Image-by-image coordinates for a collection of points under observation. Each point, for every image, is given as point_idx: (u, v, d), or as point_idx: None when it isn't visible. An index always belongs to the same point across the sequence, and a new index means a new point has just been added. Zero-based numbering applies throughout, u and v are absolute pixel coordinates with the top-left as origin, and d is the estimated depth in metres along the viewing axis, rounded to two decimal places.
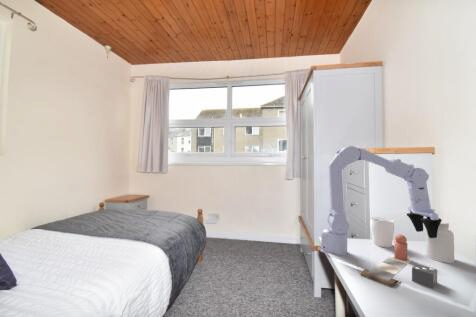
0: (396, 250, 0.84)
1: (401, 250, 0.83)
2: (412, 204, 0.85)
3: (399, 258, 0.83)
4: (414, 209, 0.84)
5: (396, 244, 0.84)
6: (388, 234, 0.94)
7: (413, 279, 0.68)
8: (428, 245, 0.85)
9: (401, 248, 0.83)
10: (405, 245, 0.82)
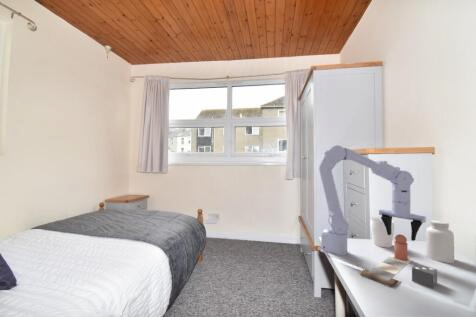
0: (396, 250, 0.84)
1: (401, 250, 0.83)
2: (398, 207, 0.83)
3: (399, 258, 0.83)
4: (400, 212, 0.82)
5: (396, 244, 0.84)
6: None
7: (413, 279, 0.68)
8: (428, 245, 0.85)
9: (401, 248, 0.83)
10: (405, 245, 0.82)
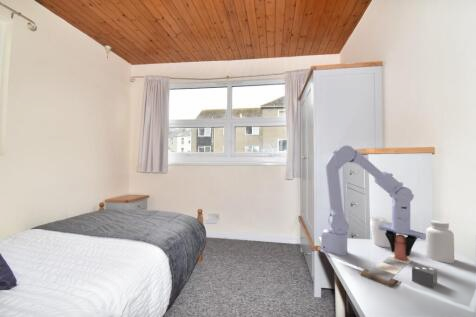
0: (396, 250, 0.84)
1: (401, 250, 0.83)
2: (398, 223, 0.83)
3: (399, 258, 0.83)
4: (400, 228, 0.82)
5: (396, 244, 0.84)
6: None
7: (413, 279, 0.68)
8: (428, 245, 0.85)
9: (401, 248, 0.83)
10: (405, 245, 0.82)
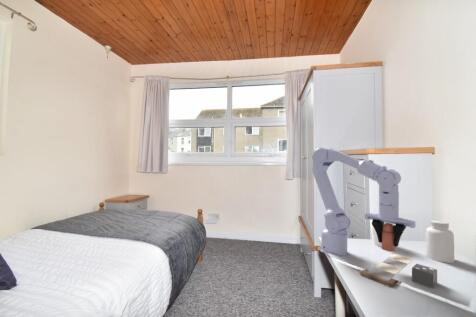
0: (383, 240, 0.76)
1: (388, 239, 0.75)
2: (386, 210, 0.75)
3: (386, 249, 0.75)
4: (388, 216, 0.74)
5: (383, 233, 0.76)
6: None
7: (413, 279, 0.68)
8: (428, 245, 0.85)
9: (389, 237, 0.75)
10: (393, 234, 0.75)
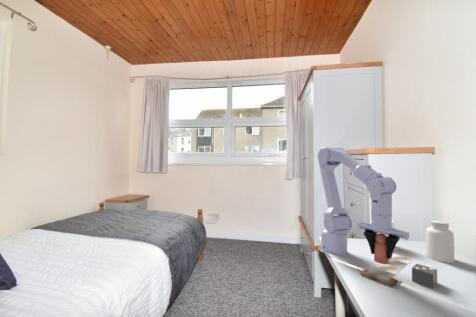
0: (376, 252, 0.72)
1: (381, 251, 0.71)
2: (378, 221, 0.71)
3: (379, 261, 0.71)
4: (380, 227, 0.70)
5: (376, 245, 0.72)
6: None
7: (413, 279, 0.68)
8: (428, 245, 0.85)
9: (381, 249, 0.71)
10: (386, 246, 0.71)
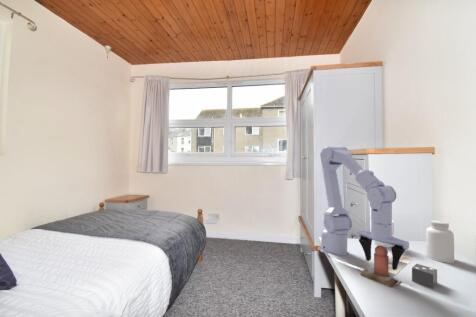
0: (376, 264, 0.72)
1: (381, 264, 0.71)
2: (378, 229, 0.71)
3: (379, 273, 0.71)
4: (380, 236, 0.70)
5: (376, 257, 0.72)
6: None
7: (413, 279, 0.68)
8: (428, 245, 0.85)
9: (381, 262, 0.71)
10: (386, 258, 0.70)
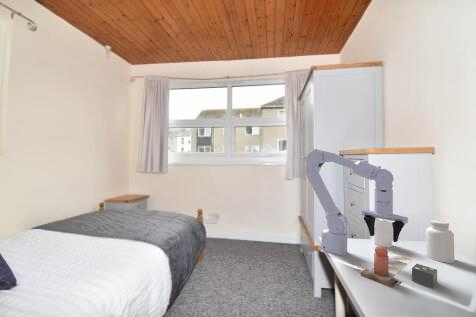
0: (376, 264, 0.72)
1: (381, 264, 0.71)
2: (380, 207, 0.80)
3: (379, 274, 0.71)
4: (382, 212, 0.80)
5: (376, 257, 0.72)
6: (388, 234, 0.94)
7: (413, 279, 0.68)
8: (428, 245, 0.85)
9: (381, 262, 0.71)
10: (386, 258, 0.70)
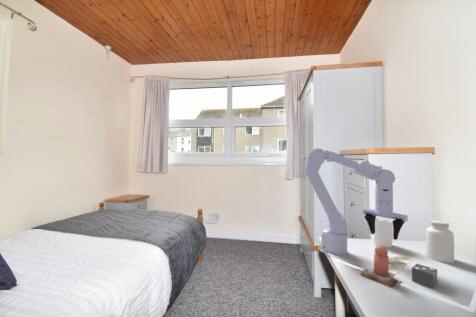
0: (376, 264, 0.72)
1: (381, 264, 0.71)
2: (381, 206, 0.83)
3: (379, 274, 0.71)
4: (383, 211, 0.82)
5: (376, 257, 0.72)
6: (388, 234, 0.94)
7: (413, 279, 0.68)
8: (428, 245, 0.85)
9: (381, 262, 0.71)
10: (386, 258, 0.70)
